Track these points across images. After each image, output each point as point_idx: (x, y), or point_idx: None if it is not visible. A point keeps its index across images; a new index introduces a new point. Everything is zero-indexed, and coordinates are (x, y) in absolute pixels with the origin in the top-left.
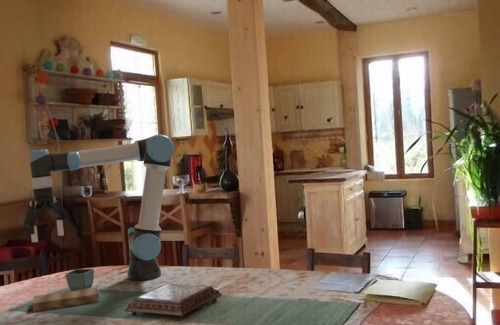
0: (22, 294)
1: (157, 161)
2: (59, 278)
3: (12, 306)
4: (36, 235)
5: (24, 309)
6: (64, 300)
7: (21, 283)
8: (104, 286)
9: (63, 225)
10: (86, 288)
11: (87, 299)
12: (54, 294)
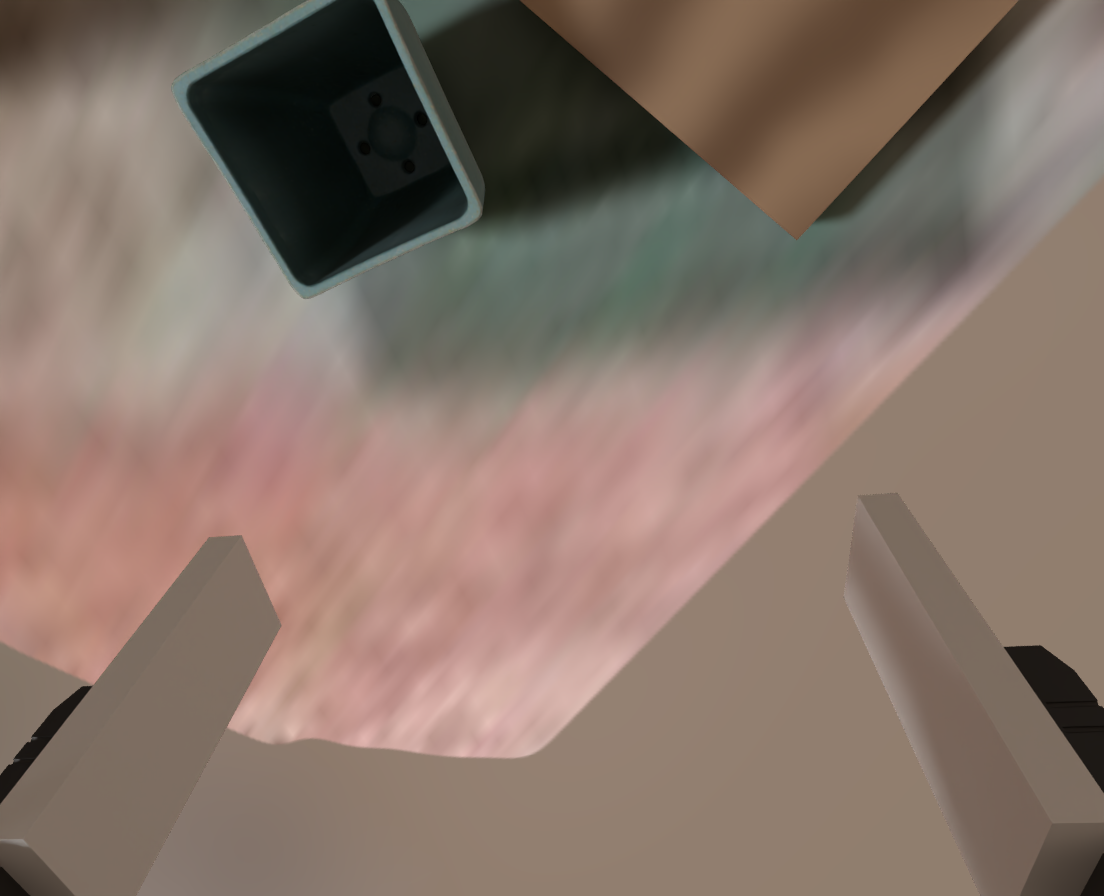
0: (619, 535)
1: None
2: None
3: (878, 338)
4: (939, 585)
5: (939, 155)
6: None
7: (454, 727)
8: None
9: (63, 715)
10: (377, 40)
11: None
12: (705, 87)
